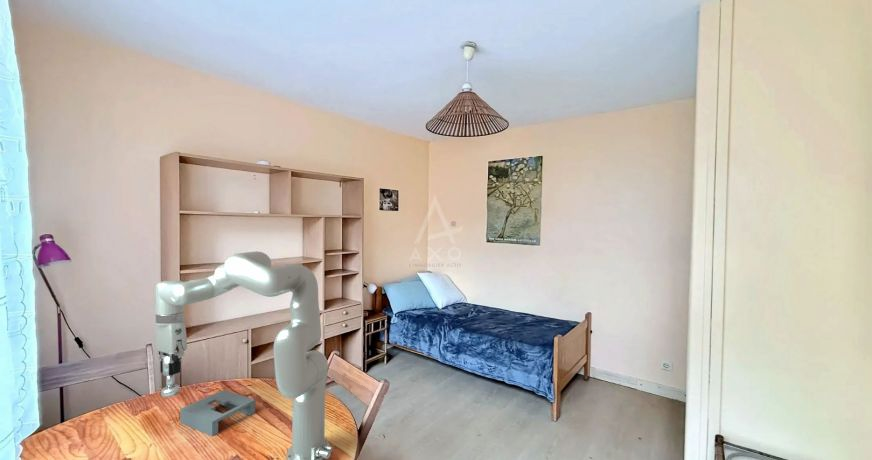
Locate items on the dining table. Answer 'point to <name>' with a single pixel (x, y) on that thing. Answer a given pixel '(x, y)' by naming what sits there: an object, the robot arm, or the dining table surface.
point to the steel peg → (169, 379)
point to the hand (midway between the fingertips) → (170, 371)
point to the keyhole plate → (205, 416)
